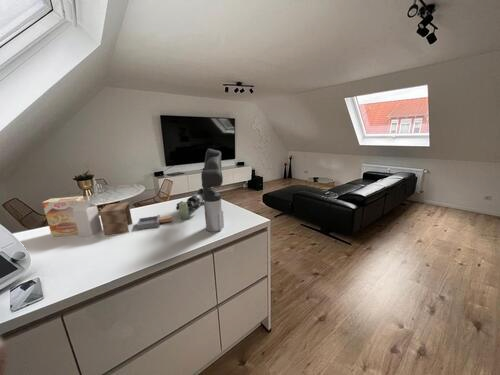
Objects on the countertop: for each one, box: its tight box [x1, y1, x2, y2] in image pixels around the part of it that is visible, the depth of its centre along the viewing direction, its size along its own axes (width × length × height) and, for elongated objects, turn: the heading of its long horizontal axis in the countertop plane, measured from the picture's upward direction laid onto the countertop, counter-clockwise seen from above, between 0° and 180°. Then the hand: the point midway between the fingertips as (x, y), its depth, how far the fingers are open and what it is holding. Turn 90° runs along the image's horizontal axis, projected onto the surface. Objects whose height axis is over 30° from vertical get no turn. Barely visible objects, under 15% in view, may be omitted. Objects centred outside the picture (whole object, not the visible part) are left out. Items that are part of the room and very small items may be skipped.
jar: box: [178, 201, 190, 221], centre depth 125 cm, size 5×5×10 cm
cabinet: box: [99, 201, 133, 237], centre depth 111 cm, size 11×12×14 cm
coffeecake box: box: [41, 195, 85, 238], centre depth 108 cm, size 15×7×20 cm, turn 105°
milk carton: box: [73, 200, 103, 238], centre depth 105 cm, size 7×7×19 cm
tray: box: [136, 214, 173, 230], centre depth 119 cm, size 18×12×3 cm, turn 111°
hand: (183, 209), depth 124 cm, fingers open, 8 cm apart
